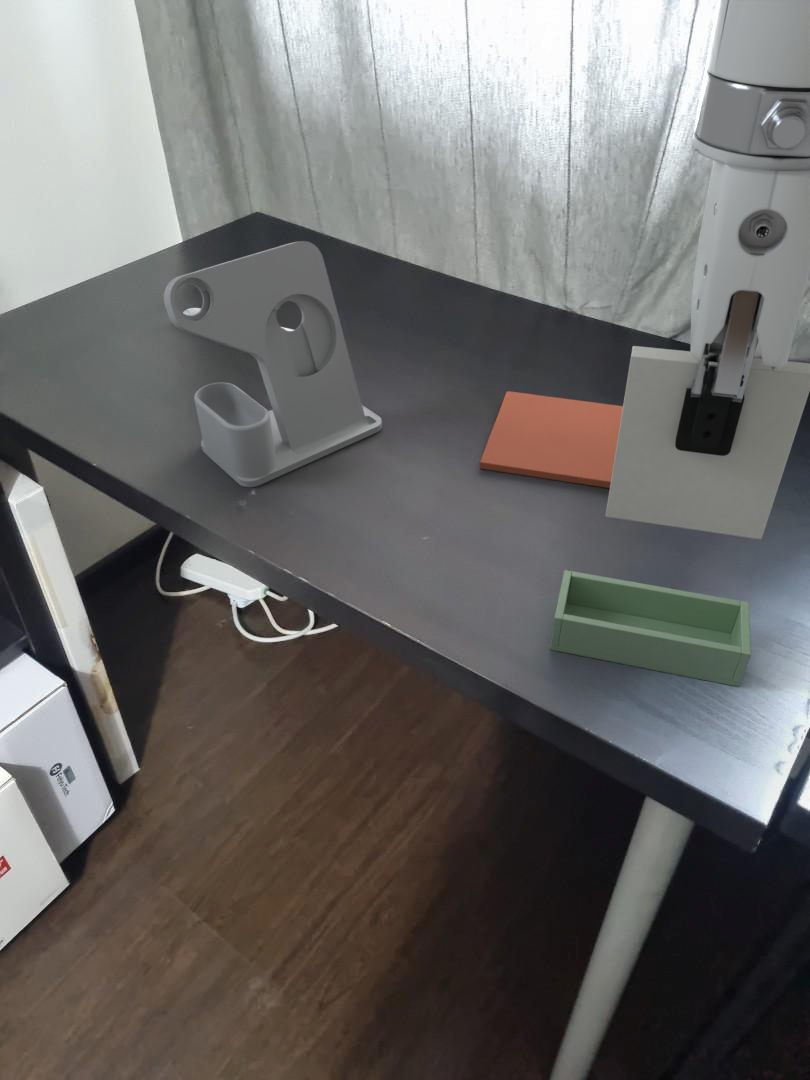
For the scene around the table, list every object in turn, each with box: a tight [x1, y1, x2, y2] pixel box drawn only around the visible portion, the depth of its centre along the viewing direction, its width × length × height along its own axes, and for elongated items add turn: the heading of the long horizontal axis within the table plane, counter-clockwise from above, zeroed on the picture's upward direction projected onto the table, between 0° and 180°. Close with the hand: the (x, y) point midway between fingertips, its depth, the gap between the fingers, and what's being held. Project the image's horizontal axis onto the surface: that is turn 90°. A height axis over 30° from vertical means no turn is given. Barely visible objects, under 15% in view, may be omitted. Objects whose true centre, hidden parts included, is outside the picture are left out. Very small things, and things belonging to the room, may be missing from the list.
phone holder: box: [163, 240, 383, 488], centre depth 80 cm, size 17×10×18 cm, turn 129°
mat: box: [479, 391, 623, 489], centre depth 83 cm, size 20×14×1 cm
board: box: [605, 345, 810, 540], centre depth 51 cm, size 10×1×12 cm, turn 74°
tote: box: [549, 569, 752, 688], centre depth 62 cm, size 14×5×4 cm, turn 74°
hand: (702, 439), depth 51 cm, fingers closed on board, 1 cm apart
